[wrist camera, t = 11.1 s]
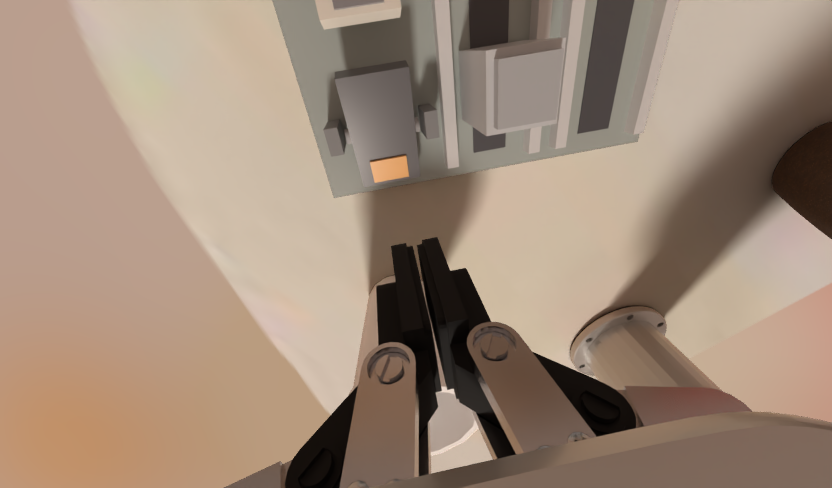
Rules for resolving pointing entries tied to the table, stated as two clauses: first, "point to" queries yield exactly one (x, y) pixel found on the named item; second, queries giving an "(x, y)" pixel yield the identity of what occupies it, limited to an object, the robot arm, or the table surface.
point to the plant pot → (808, 178)
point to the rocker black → (380, 121)
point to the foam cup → (451, 416)
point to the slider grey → (511, 85)
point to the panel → (440, 77)
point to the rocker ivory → (356, 11)
